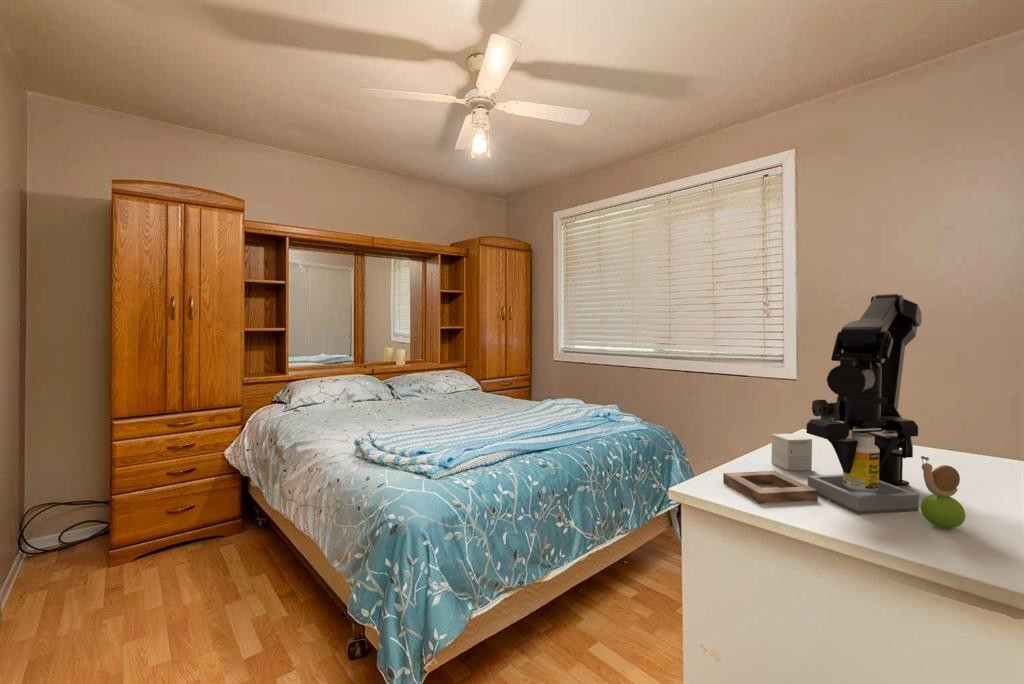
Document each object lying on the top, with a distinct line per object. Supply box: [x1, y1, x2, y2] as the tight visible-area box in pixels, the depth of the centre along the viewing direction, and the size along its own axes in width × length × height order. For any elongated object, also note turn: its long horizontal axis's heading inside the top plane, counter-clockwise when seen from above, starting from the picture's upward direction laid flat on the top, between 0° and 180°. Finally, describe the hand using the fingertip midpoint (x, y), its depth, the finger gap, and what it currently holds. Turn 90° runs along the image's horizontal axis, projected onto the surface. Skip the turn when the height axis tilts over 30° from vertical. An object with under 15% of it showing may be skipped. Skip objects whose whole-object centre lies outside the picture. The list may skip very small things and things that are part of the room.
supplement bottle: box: [842, 433, 880, 492], centre depth 88 cm, size 6×6×10 cm
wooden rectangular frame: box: [722, 470, 819, 505], centre depth 94 cm, size 12×12×2 cm
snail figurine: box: [920, 455, 966, 530], centre depth 76 cm, size 5×6×12 cm
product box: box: [770, 433, 813, 472], centre depth 110 cm, size 6×6×7 cm
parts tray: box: [807, 473, 920, 516], centre depth 89 cm, size 12×12×3 cm
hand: (860, 472), depth 88 cm, fingers closed on supplement bottle, 5 cm apart
